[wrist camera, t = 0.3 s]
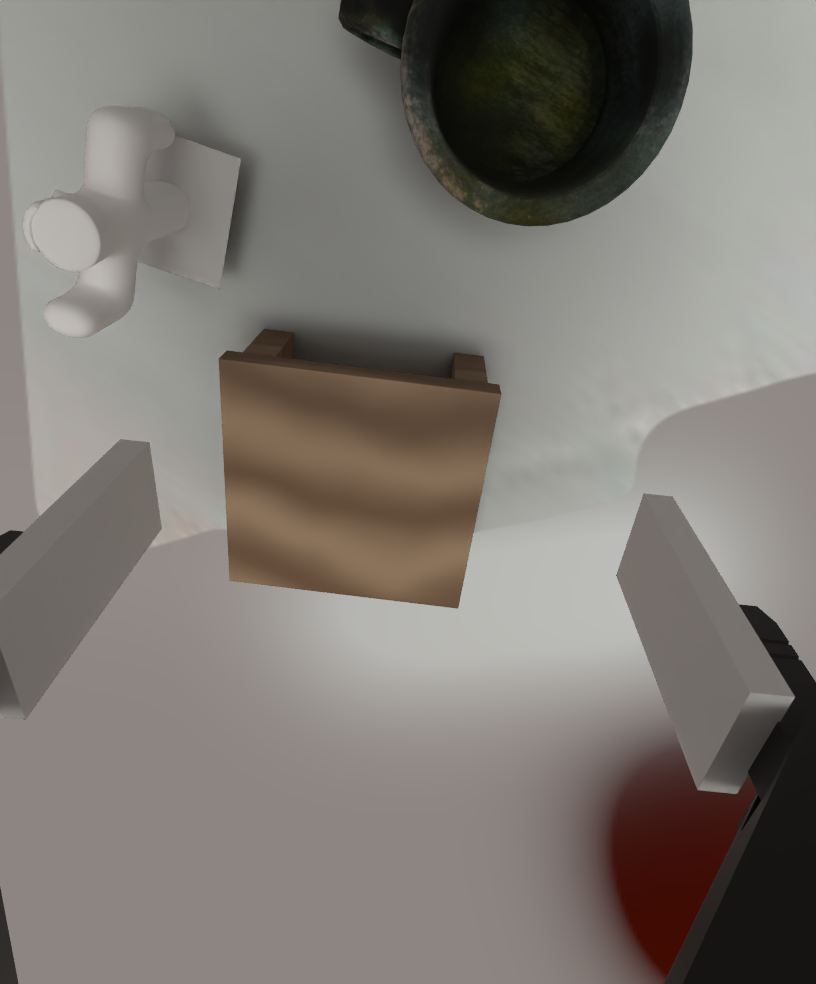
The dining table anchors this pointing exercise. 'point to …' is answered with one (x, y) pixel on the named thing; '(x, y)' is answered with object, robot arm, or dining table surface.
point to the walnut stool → (352, 473)
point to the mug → (534, 95)
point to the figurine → (133, 216)
